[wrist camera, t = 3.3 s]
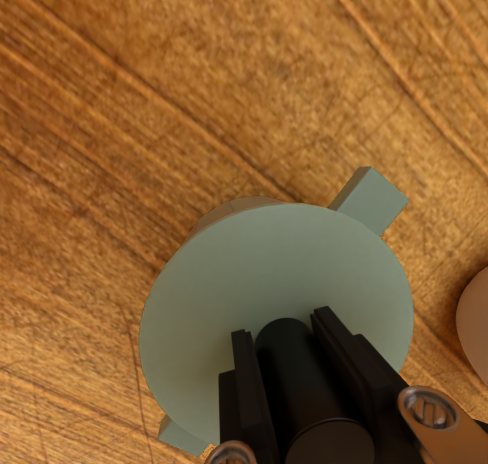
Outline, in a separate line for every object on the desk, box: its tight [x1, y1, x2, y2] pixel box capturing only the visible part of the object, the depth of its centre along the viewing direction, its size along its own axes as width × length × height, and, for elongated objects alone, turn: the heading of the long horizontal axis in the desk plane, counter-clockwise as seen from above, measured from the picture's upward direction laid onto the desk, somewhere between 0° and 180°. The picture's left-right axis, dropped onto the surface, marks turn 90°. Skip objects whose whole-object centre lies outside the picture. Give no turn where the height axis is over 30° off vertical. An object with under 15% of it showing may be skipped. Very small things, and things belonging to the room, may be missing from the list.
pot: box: [158, 166, 409, 457], centre depth 15 cm, size 10×16×8 cm, turn 143°
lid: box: [139, 202, 414, 464], centre depth 9 cm, size 11×11×6 cm
